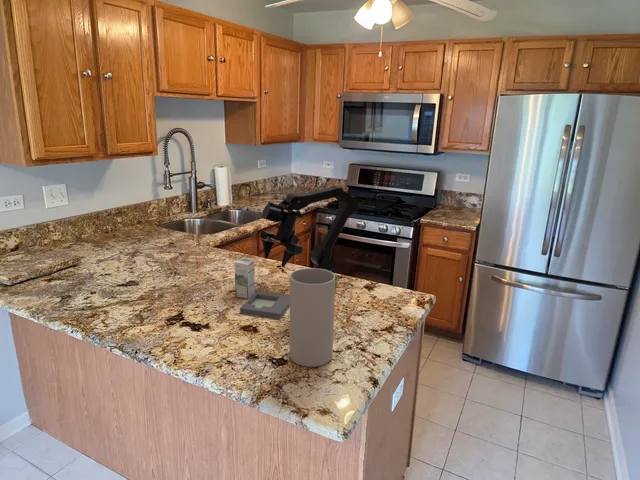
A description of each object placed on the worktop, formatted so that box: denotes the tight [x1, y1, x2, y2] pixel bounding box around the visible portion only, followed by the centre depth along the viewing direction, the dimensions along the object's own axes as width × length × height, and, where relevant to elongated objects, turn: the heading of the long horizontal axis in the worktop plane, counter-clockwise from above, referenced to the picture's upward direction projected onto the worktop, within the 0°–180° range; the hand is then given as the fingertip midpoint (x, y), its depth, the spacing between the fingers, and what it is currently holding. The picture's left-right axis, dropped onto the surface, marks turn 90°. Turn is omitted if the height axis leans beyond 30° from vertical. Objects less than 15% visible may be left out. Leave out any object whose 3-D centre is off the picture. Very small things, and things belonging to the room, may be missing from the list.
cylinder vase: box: [289, 267, 336, 368], centre depth 121 cm, size 12×12×25 cm
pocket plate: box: [239, 290, 290, 320], centre depth 155 cm, size 15×16×2 cm
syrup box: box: [233, 257, 256, 300], centre depth 162 cm, size 6×6×14 cm
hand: (274, 262), depth 168 cm, fingers open, 9 cm apart
